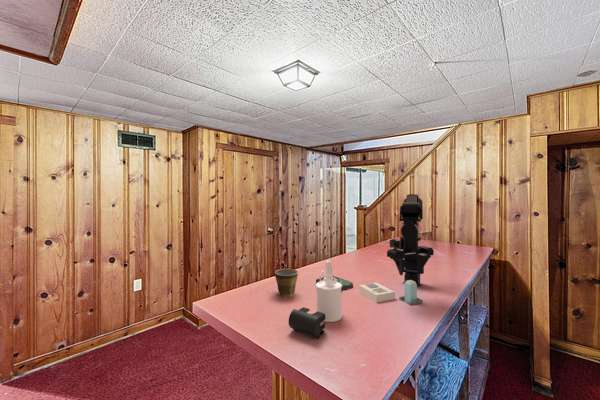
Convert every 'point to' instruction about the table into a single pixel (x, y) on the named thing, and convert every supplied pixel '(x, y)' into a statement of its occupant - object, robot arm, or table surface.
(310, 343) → the table surface
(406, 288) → the plug
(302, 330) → the end cap
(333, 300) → the white pump bottle
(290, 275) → the olive plant pot
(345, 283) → the disk drive
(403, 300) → the holster
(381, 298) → the port block
